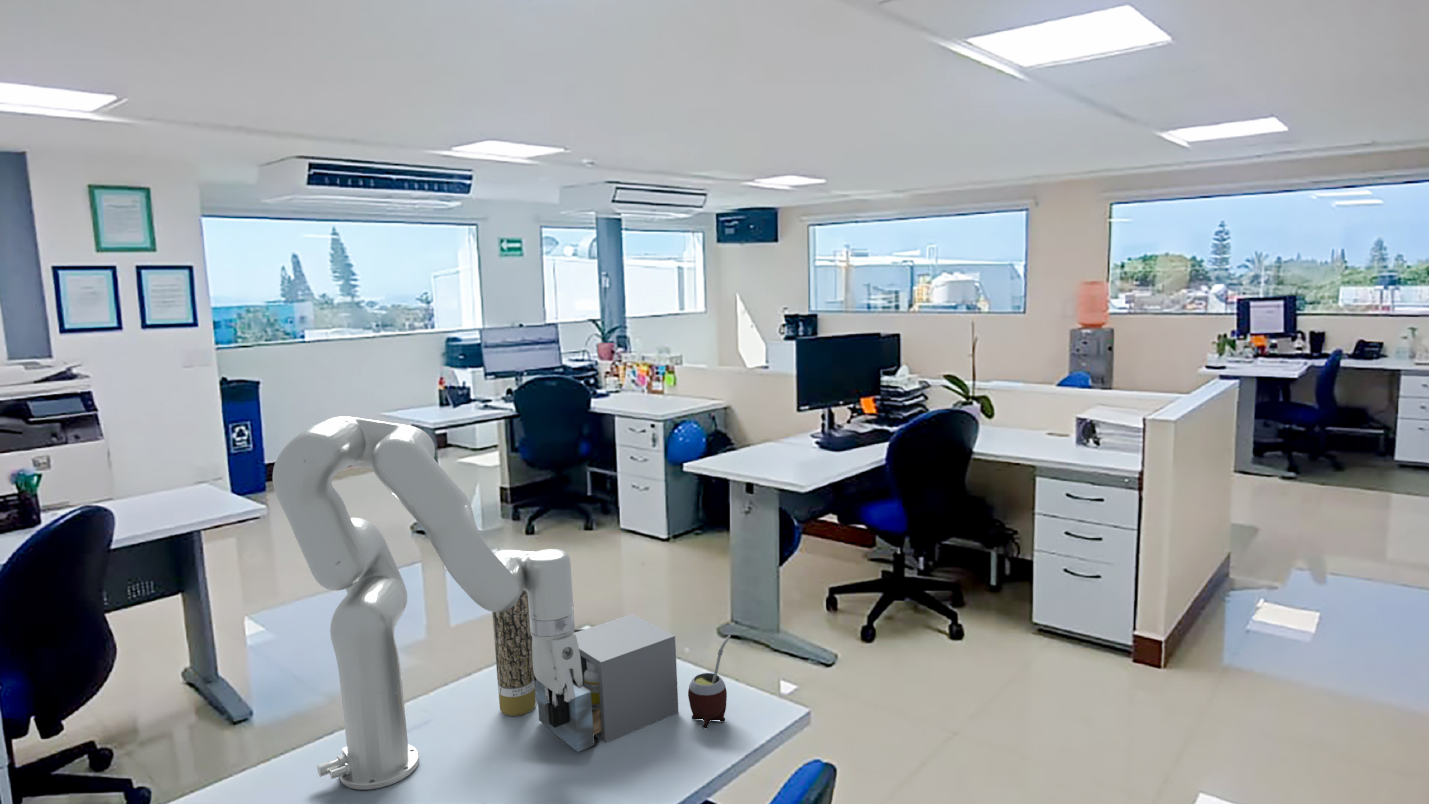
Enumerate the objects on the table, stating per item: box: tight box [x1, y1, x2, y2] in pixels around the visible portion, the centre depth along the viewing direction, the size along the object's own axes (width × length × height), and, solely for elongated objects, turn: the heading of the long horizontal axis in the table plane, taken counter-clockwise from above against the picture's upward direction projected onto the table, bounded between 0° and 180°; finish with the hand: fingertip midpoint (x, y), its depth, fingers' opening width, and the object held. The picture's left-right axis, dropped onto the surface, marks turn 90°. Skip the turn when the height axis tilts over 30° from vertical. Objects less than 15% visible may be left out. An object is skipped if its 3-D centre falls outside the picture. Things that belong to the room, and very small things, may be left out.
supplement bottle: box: [584, 660, 600, 712], centre depth 158 cm, size 5×5×10 cm
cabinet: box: [575, 613, 679, 744], centre depth 161 cm, size 16×14×15 cm
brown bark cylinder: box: [491, 591, 537, 717], centre depth 163 cm, size 7×7×25 cm
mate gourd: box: [687, 633, 732, 729], centre depth 157 cm, size 8×8×15 cm
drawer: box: [535, 679, 602, 752], centre depth 158 cm, size 19×14×10 cm
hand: (559, 723), depth 148 cm, fingers closed
